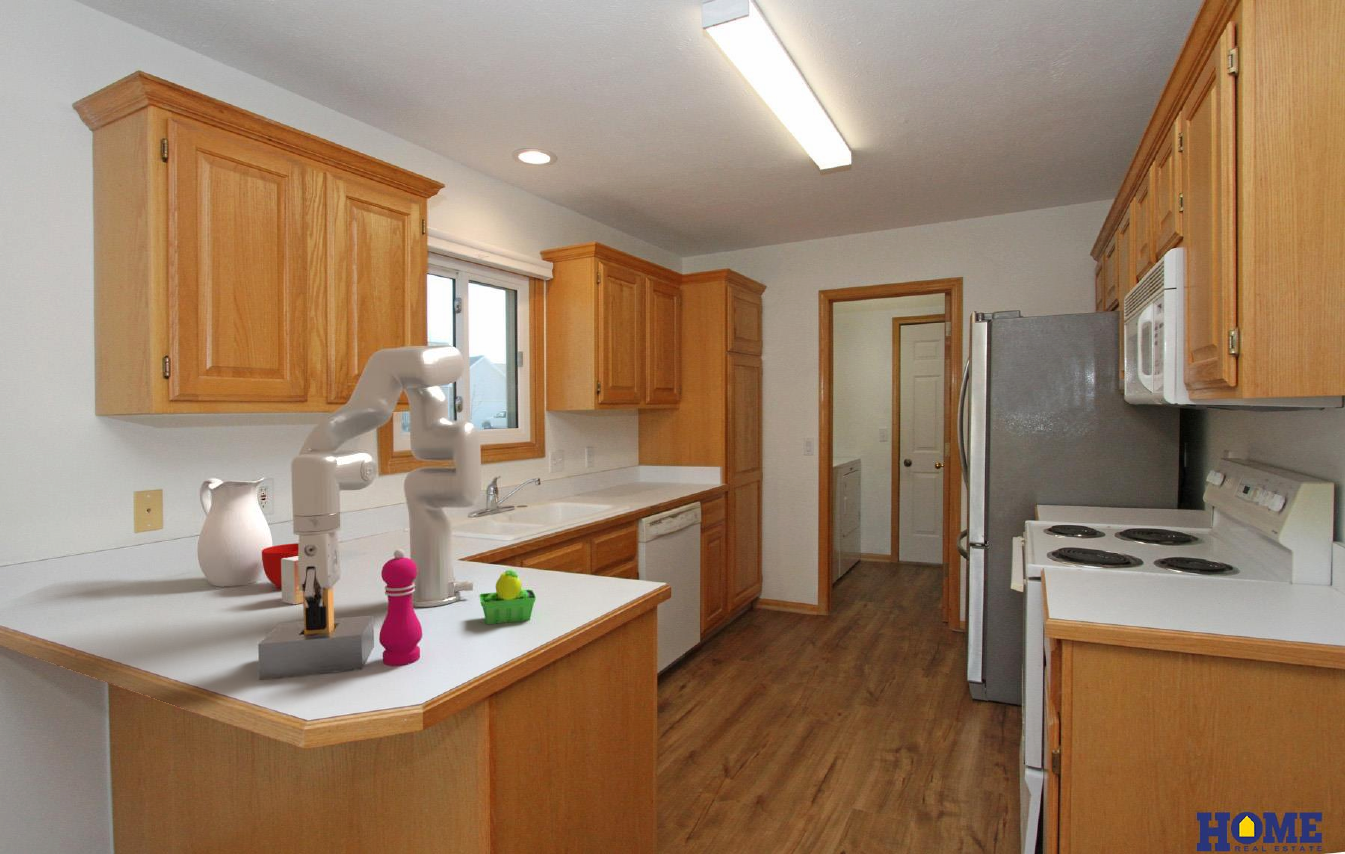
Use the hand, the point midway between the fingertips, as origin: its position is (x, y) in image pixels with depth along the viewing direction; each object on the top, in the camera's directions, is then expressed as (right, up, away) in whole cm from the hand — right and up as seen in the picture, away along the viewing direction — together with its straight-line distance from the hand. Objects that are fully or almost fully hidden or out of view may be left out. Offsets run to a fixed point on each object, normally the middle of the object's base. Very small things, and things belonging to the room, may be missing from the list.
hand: (319, 624), depth 123 cm
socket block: (0, -7, 0) cm, 7 cm away
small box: (-25, -7, +42) cm, 50 cm away
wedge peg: (0, -2, 0) cm, 2 cm away
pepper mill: (+14, -7, +1) cm, 16 cm away
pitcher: (-57, -6, +63) cm, 85 cm away
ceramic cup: (-34, -6, +56) cm, 66 cm away
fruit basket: (+28, -6, +24) cm, 37 cm away
